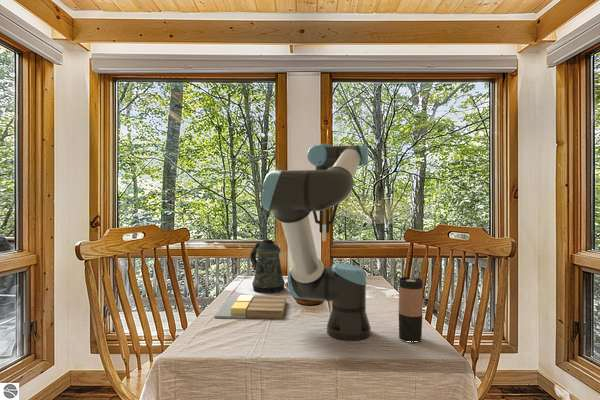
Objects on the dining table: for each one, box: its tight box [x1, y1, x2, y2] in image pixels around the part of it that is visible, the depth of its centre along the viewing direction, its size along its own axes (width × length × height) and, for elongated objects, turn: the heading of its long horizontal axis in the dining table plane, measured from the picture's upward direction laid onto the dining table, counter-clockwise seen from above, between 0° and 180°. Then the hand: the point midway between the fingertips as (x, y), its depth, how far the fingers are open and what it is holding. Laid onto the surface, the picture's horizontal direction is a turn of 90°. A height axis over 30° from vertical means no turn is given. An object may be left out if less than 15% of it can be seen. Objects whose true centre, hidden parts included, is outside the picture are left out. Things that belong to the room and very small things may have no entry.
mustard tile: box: [231, 302, 250, 315], centre depth 152 cm, size 9×6×2 cm, turn 178°
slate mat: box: [214, 298, 247, 320], centre depth 158 cm, size 24×12×1 cm, turn 178°
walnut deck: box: [246, 294, 287, 319], centre depth 157 cm, size 22×14×3 cm, turn 178°
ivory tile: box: [236, 294, 255, 304], centre depth 163 cm, size 9×6×2 cm, turn 178°
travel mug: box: [398, 276, 424, 342], centre depth 126 cm, size 8×8×20 cm
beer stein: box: [249, 239, 286, 294], centre depth 192 cm, size 16×19×25 cm
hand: (324, 240), depth 153 cm, fingers closed
